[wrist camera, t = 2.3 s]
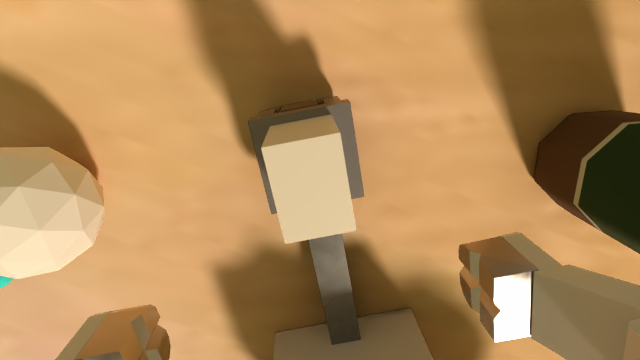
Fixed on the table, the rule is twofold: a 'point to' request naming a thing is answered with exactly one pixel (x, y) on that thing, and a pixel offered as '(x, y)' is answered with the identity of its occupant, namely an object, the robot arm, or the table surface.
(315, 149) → the cream box
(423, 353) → the grey holed block
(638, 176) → the beer bottle
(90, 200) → the perfume bottle
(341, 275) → the rail
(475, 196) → the table surface
